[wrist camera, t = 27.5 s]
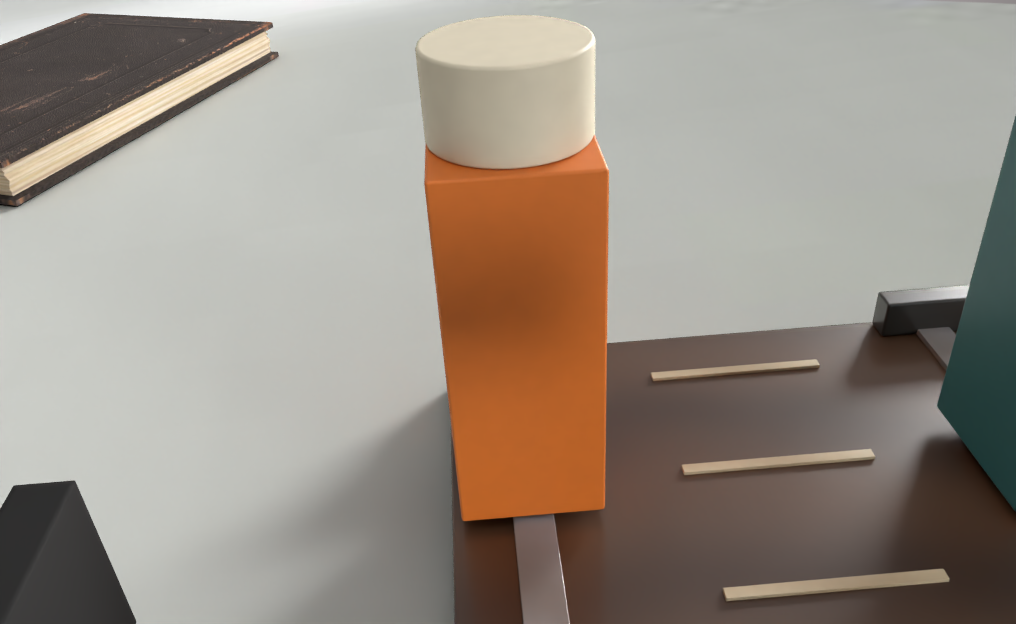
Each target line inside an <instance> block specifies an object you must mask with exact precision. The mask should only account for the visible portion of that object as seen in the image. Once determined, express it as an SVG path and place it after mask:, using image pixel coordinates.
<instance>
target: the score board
mask: <svg viewBox="0 0 1016 624" xmlns="http://www.w3.org/2000/svg"><path fill="white" fill-rule="evenodd" d="M968 289H969V285H962V286H950V287H937V288H924V289H912V290H899V291H886V292H879V293H878V298H877V302H876V307H875V312H874V317H873V322H868V323H855V324H843V325H830V326H818V327H805V328H793V329H780V330H767V331H755V332H742V333H730V334H717V335H705V336H692V337H680V338H667V339H655V340H642V341H630V342H617V343H607V371H606V453H605V507H604V509H602V510H590V511H578V512H566V513H555V514H543V515H531V516H519V517H508V518H496V519H484V520H472V521H463V520H462V518H461V509H460V500H459V491H458V482H457V473H456V464H455V455H454V446H453V437H452V428H451V463H452V516H453V569H454V622H455V624H1016V511H1014V510H1013V508H1012V507H1011V505H1010V504H1009V503H1008V501H1007V500H1006V499H1005V497H1004V496H1003V495H1002V493H1001V492H1000V491H999V489H998V488H997V487H996V485H995V484H994V483H993V481H992V480H991V479H990V477H989V476H988V475H987V473H986V472H985V471H984V469H983V468H982V466H981V465H980V464H979V462H978V461H977V460H976V458H975V457H974V456H973V454H972V453H971V452H970V450H969V449H968V448H967V446H966V445H965V444H964V442H963V441H962V440H961V438H960V437H959V436H958V434H957V433H956V432H955V430H954V429H953V427H952V426H951V425H950V423H949V422H948V421H947V419H946V418H945V417H944V415H943V414H942V413H941V411H940V410H939V409H938V407H937V403H938V399H939V396H940V392H941V388H942V385H943V381H944V377H945V374H946V370H947V366H948V363H949V359H950V355H951V352H952V348H953V344H954V341H955V337H956V333H957V330H958V326H959V322H960V319H961V315H962V311H963V308H964V304H965V300H966V296H967V293H968Z"/></svg>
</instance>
